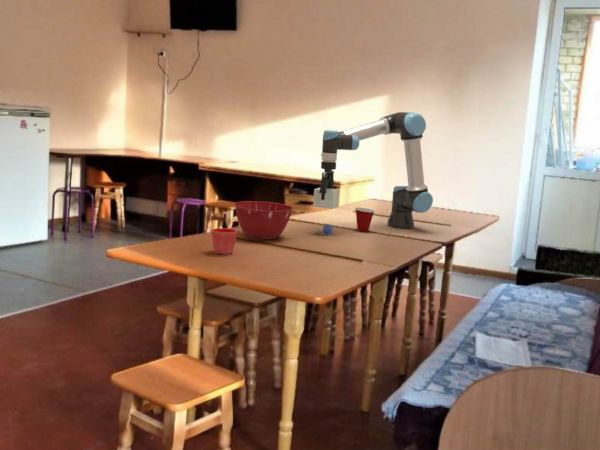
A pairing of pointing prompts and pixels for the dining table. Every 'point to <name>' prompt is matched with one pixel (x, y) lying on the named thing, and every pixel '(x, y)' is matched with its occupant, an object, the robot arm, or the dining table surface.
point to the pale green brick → (330, 198)
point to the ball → (327, 229)
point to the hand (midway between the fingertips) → (325, 204)
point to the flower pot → (224, 240)
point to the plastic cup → (364, 218)
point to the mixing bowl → (262, 218)
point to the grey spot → (322, 233)
